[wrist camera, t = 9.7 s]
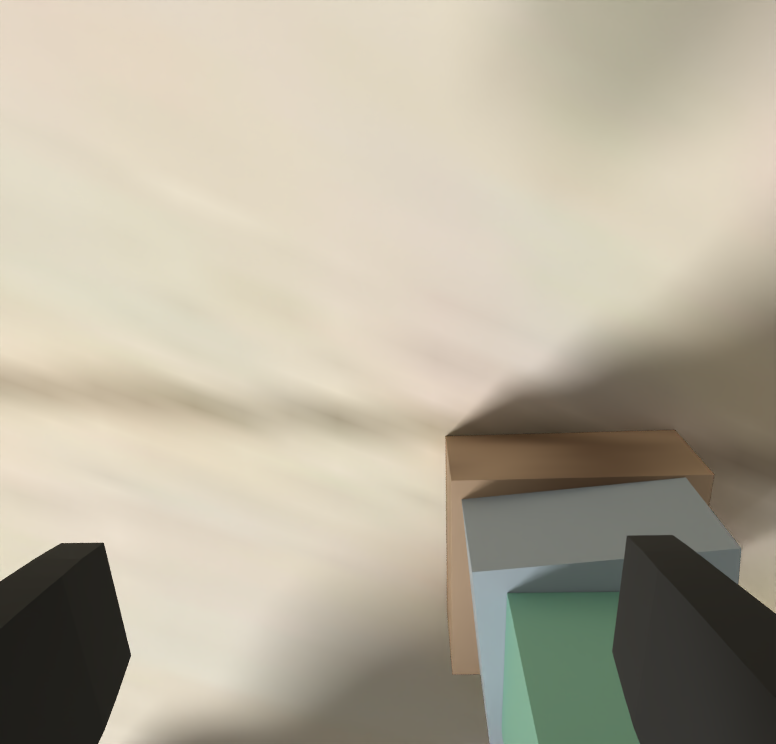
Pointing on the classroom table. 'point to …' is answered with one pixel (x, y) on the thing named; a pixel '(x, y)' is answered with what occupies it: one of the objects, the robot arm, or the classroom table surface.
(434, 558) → the classroom table surface
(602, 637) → the light green block
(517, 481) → the walnut base block
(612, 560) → the slate-grey block
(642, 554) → the robot arm
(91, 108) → the classroom table surface
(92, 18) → the classroom table surface
